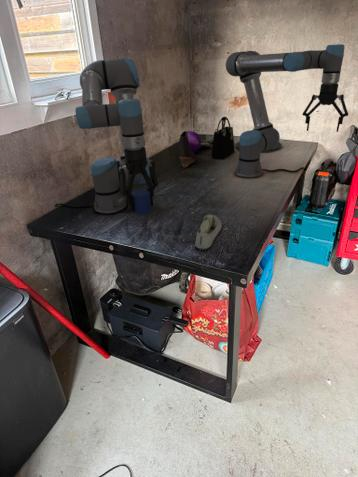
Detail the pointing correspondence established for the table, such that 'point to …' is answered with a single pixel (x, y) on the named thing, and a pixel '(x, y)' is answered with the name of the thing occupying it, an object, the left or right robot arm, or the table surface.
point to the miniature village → (265, 151)
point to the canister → (142, 202)
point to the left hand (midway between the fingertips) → (141, 207)
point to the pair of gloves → (207, 141)
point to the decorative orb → (193, 141)
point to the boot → (186, 151)
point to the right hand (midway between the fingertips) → (322, 130)
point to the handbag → (223, 140)
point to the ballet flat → (207, 232)
